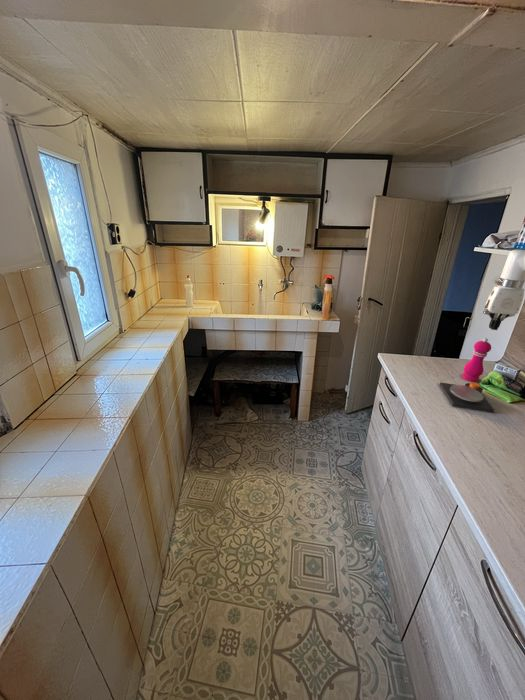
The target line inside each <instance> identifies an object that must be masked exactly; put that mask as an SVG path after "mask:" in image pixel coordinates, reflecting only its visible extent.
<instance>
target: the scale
mask: <svg viewBox="0 0 525 700" xmlns="http://www.w3.org/2000/svg"><path fill="white" fill-rule="evenodd" d="M470 383H471V382H467V383H465V384H464V386H467V387H469V386H470ZM438 385H439V387H440V389H441V391H442V392H443V394H444V396H445V397H446V399H447V400H448V402H449V403H450V405H451V407H455V408H461V409H467V410H474V411H480V412H486V413H487V412H488V413H492V414H493V413H494V412H495V408H494V407H493V405H492V404H491V403H490V402H489V400H487V398H486V397H485V396H484V395H483V397H484V398H483V400H482V401H480V402H471V401H467V400H463V399H461V398H459V397H457V396H455V395H454V394H452V393H451V391H450V388H451V386H453V385H456V384H455V383H447V382H439V383H438ZM475 390H476V389H475ZM477 391H479V392H480V393H481V394H483V391H484V388H483V387H482V386H480V387H479V389H478V390H477Z"/></svg>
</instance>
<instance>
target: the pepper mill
mask: <svg viewBox="0 0 525 700" xmlns="http://www.w3.org/2000/svg"><path fill="white" fill-rule="evenodd" d="M491 351H492V345H491V343H490V342H489V339H488V338H486V337H484V338H483V339H482V340H478V341H476V342H475V343H474V345H473V352H472V354H473V356H472V357H471V359H470V360H469V361H468V362H467V363H466V364H465V365H464V367H463V372H462V375H461V377H462V378H463V379H464V380H466V381H468V382H470V383H471V382H474V383H477V382H479V380H480V376H482V375H483V374H484V364H483V363H484V359H485V358H487V355H488V353H489V352H491Z"/></svg>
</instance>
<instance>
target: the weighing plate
mask: <svg viewBox="0 0 525 700" xmlns="http://www.w3.org/2000/svg"><path fill="white" fill-rule="evenodd" d="M450 391H451V393H452V394H454V395H455V396H457V397H459V398H461V399H463V400H467V401H471V402H480V401H482V400H483V398H484V397H485V396H484V395H483V393H480V392H479V391H477V390H475V389H473V388H470V387H467V386H465V385H462V384H455V385H453V386H451V388H450ZM483 396H484V397H483Z"/></svg>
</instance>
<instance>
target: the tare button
mask: <svg viewBox="0 0 525 700" xmlns="http://www.w3.org/2000/svg"><path fill="white" fill-rule="evenodd" d="M469 383H470V386H469V387H470V388H473V389H476V390H478V389H479V387H481V384H479V383H477V382H471V381H470V382H469Z"/></svg>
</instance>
